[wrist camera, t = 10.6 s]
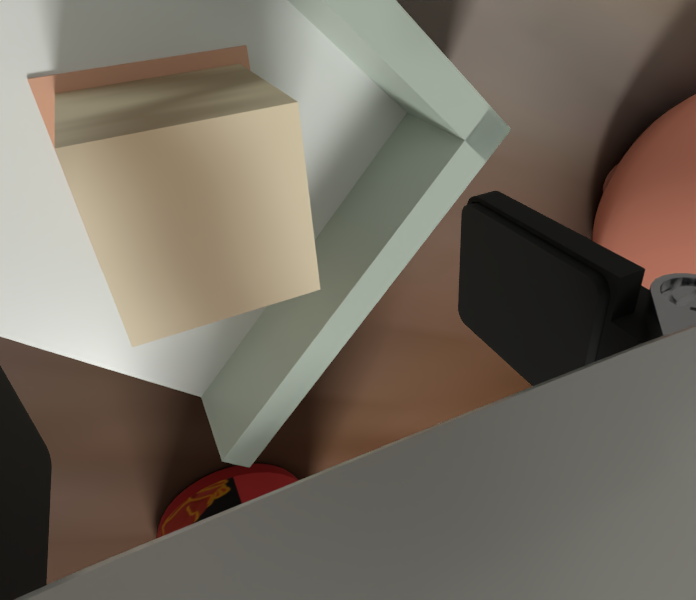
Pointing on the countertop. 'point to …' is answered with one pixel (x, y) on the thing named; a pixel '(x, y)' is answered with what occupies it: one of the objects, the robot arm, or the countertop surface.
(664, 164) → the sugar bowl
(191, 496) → the canned food
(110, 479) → the countertop surface
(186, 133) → the cube
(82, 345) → the arena
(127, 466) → the countertop surface
